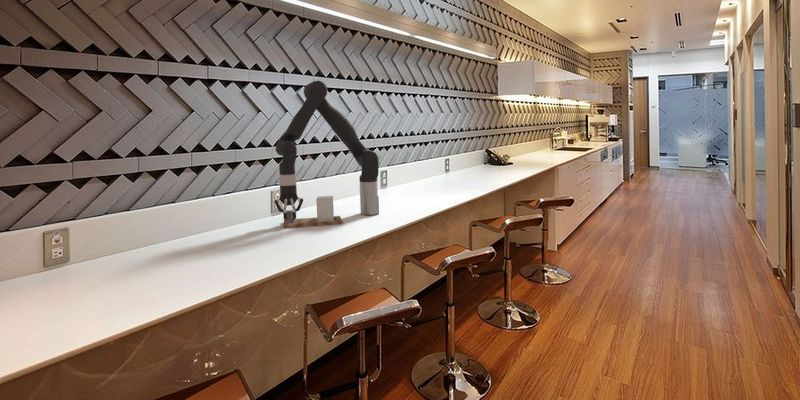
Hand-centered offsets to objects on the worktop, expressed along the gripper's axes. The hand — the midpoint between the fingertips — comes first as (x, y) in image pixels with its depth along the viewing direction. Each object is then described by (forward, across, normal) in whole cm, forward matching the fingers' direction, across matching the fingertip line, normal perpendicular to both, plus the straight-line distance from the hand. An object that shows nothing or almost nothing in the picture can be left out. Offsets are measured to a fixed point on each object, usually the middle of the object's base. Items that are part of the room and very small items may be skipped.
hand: (290, 219), depth 208 cm
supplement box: (+3, -17, 0) cm, 17 cm away
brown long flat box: (+2, -11, 0) cm, 11 cm away
